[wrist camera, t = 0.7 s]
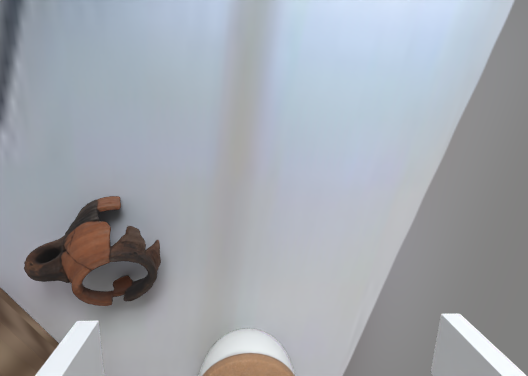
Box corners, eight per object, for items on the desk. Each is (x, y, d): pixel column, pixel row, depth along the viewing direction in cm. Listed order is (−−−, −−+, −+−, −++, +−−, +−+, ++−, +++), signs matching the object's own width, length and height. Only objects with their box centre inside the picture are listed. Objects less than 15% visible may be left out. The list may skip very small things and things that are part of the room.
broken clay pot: (146, 181, 34) (155, 237, 28) (162, 241, 40) (173, 296, 34) (15, 208, 31) (-6, 277, 25) (55, 268, 37) (46, 336, 31)
